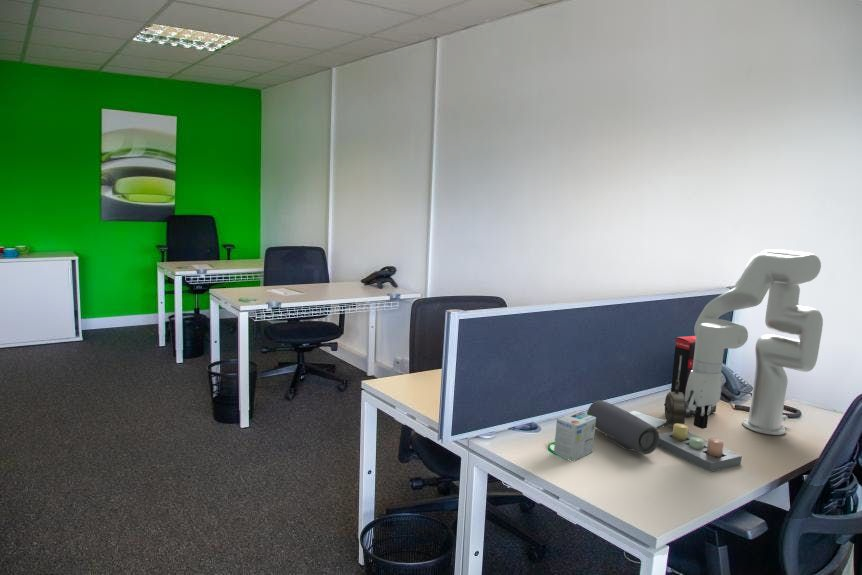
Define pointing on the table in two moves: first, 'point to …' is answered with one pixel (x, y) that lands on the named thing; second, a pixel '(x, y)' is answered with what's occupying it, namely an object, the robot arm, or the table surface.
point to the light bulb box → (574, 435)
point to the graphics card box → (684, 367)
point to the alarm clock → (675, 407)
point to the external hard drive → (650, 419)
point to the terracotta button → (715, 448)
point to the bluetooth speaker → (624, 427)
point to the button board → (698, 453)
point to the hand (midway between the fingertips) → (700, 426)
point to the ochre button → (680, 432)
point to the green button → (696, 443)
